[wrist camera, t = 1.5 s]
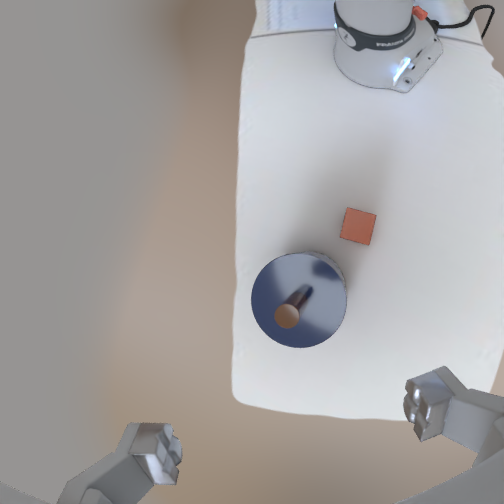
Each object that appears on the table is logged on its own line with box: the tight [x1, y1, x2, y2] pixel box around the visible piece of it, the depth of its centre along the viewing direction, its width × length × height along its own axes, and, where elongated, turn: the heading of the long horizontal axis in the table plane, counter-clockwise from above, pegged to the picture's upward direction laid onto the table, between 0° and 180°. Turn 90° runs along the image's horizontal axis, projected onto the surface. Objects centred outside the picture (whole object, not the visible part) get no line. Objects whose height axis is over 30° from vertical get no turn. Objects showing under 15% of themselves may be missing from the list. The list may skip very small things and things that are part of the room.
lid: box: [251, 253, 347, 348], centre depth 36 cm, size 13×13×8 cm
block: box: [340, 207, 376, 245], centre depth 42 cm, size 4×4×10 cm
